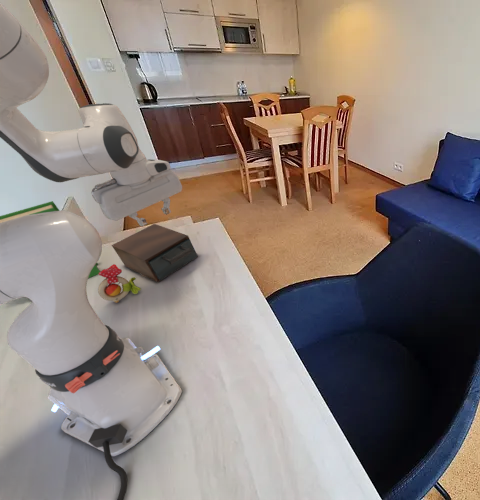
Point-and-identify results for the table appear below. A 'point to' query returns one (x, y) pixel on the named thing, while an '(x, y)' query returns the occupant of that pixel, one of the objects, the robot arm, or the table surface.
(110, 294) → the bird rattle
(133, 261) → the cabinet
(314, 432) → the table surface
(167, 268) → the drawer
